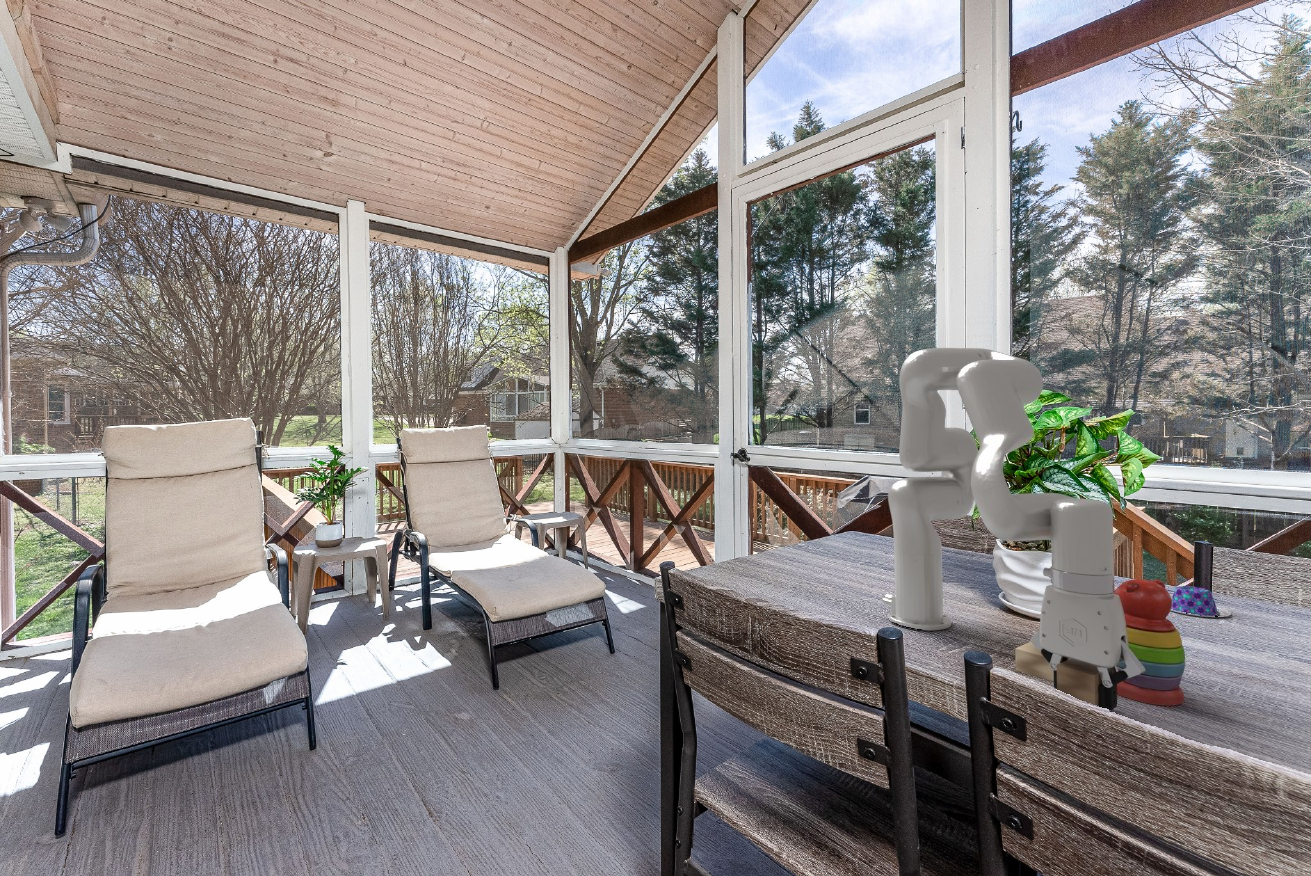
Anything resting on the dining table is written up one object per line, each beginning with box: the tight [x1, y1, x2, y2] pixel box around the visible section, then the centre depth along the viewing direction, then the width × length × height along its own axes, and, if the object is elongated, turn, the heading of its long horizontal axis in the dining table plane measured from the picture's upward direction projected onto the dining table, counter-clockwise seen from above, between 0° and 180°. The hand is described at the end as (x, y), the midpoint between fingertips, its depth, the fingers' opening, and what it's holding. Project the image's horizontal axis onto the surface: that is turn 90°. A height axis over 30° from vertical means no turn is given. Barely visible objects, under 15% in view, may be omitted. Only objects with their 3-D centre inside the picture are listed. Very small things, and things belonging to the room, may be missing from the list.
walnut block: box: [1057, 659, 1102, 706], centre depth 86 cm, size 5×5×6 cm
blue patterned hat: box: [1170, 585, 1232, 618], centre depth 130 cm, size 12×12×5 cm
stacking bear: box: [1114, 578, 1186, 707], centre depth 90 cm, size 11×10×18 cm
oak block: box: [1014, 641, 1070, 683], centre depth 99 cm, size 7×7×4 cm
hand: (1084, 701), depth 86 cm, fingers closed on walnut block, 5 cm apart
